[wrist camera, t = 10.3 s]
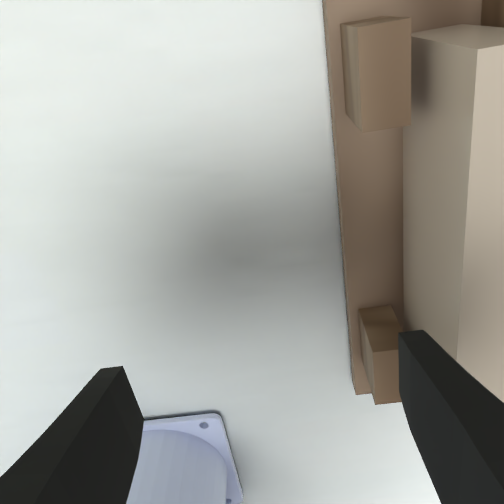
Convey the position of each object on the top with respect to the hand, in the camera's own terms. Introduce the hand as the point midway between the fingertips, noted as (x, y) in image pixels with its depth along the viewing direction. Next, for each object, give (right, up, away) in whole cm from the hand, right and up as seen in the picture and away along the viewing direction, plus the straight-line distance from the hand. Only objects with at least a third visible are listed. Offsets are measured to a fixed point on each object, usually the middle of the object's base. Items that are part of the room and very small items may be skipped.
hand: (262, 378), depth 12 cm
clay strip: (+7, +5, +7) cm, 11 cm away
